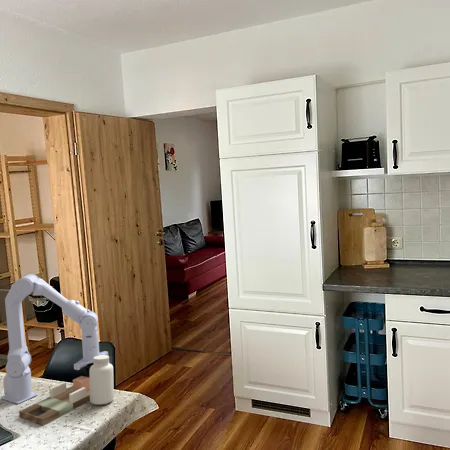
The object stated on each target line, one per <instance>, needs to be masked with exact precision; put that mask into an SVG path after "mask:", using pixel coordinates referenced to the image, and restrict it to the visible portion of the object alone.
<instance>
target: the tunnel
mask: <svg viewBox="0 0 450 450" xmlns="http://www.w3.org/2000/svg"><path fill="white" fill-rule="evenodd" d="M66 389H67V382H64V381H62V382H61V383H58V384H56V385H54V386H52V387H49V397H52V398H53V397H55V396H57V395H59V394H61V393H63V392H65V391H67V390H66ZM84 397H86V388H85V387H83V388H81V389H79V390H77V391H75V392H73V393H71V394H69V398H70V403H72V404H73V403H74V402H76V401H78V400H80V399H82V398H84Z"/></svg>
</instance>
